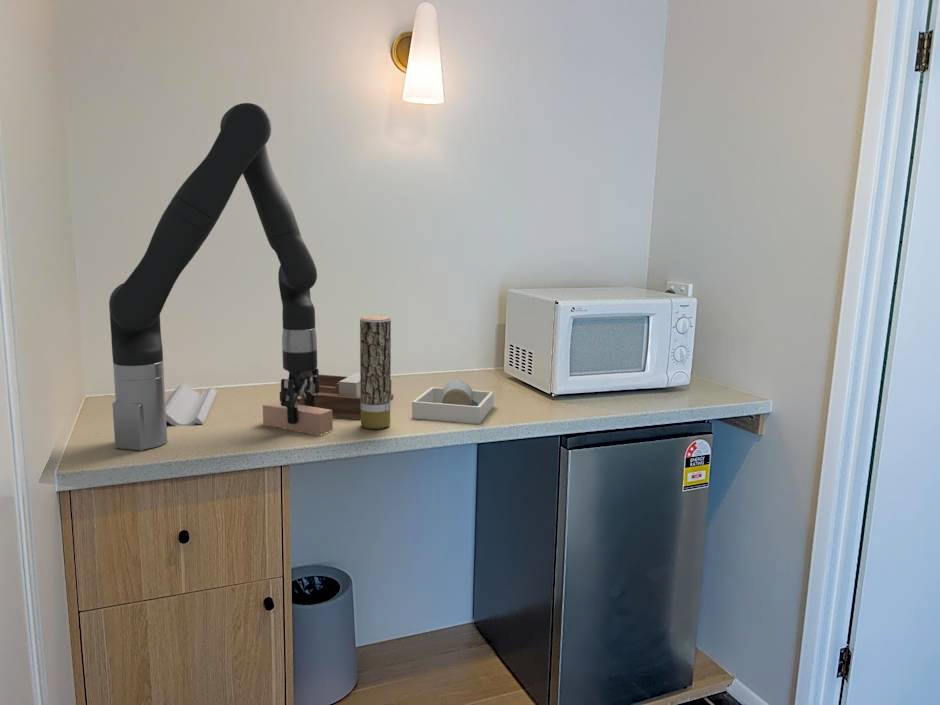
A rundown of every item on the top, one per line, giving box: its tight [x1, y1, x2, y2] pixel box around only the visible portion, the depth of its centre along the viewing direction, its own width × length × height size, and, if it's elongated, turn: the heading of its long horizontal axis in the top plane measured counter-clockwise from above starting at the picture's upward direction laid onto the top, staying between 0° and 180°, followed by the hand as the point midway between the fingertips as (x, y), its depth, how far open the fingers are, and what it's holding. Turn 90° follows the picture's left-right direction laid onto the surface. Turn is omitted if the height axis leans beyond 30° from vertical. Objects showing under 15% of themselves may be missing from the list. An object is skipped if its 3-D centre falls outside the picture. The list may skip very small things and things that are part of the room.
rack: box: [279, 374, 394, 420], centre depth 183 cm, size 22×22×5 cm
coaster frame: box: [411, 386, 495, 425], centre depth 179 cm, size 17×17×4 cm
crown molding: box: [165, 382, 218, 426], centre depth 177 cm, size 31×12×4 cm, turn 14°
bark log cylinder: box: [359, 315, 392, 430], centre depth 164 cm, size 7×7×25 cm
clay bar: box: [262, 400, 334, 436], centre depth 163 cm, size 16×4×5 cm, turn 64°
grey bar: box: [339, 370, 360, 398], centre depth 182 cm, size 16×4×5 cm, turn 167°
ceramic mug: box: [442, 379, 480, 406], centre depth 178 cm, size 11×8×8 cm
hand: (301, 418), depth 163 cm, fingers open, 8 cm apart
